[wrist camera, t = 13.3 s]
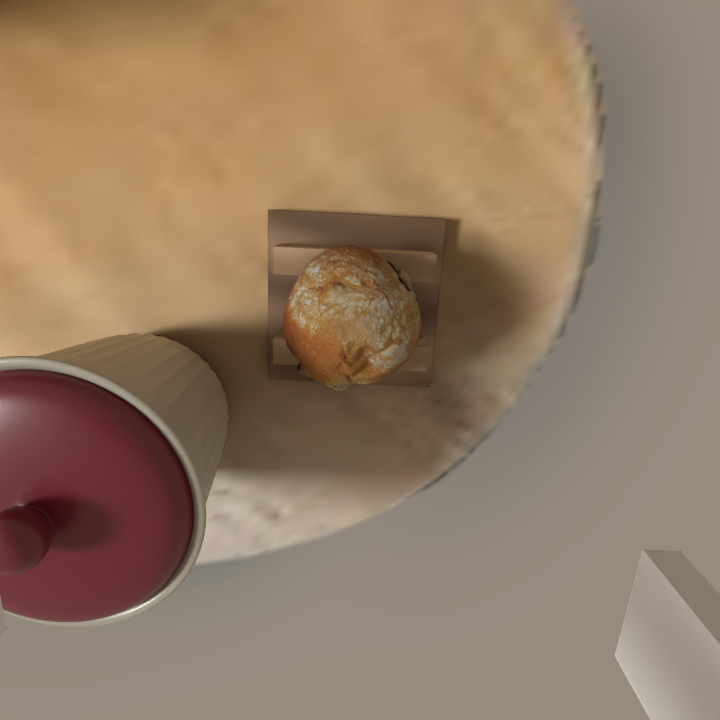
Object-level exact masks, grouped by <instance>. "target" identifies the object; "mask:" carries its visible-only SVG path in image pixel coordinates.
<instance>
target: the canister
mask: <svg viewBox="0 0 720 720" xmlns="http://www.w3.org/2000/svg"><path fill="white" fill-rule="evenodd" d="M228 423H229V417H228V404H227V402H226V394H225V392H224V391H223V389H222V383H221V382H220V381H219V380H218V378H217V376H216V373H215V372H214V371H213V370H212V369H211V368H210V367H209V364H208V363H207V362H205V361H204V360H203V359H202V358H201V357H200V356H199V354H196V353H194V352H193V351H192V350H190V348H189V347H186V346H183V345H181V344H180V343H179V342H177V341H173V340H169V339H167V338H166V337H163V336H160V337H159V336H154V335H152V334H144V335H142V334H138V333H133V334H128V335H117V336H112V337H108V338H103V339H99V340H95V341H91V342H87V343H84V344H80V345H76V346H73V347H69V348H66V349H62V350H58V351H55V352H51V353H48V354H44V355H41V356H37V357H34V356H11V357H1V358H0V597H1V602H2V607H3V612H5V613H8V614H10V615H13V616H16V617H19V618H22V619H25V620H29V621H33V622H37V623H42V624H48V625H54V626H65V627H89V626H99V625H106V624H110V623H115V622H119V621H123V620H126V619H129V618H132V617H134V616H137V615H139V614H141V613H143V612H145V611H147V610H149V609H151V608H153V607H154V606H156V605H158V604H159V603H161V602H162V601H163V600H164V599H166V598H167V597H168V596H169V595H170V594H172V593H173V592H174V591H175V590H176V589H177V588H178V587H179V585H180V584H181V583H182V582H183V581H184V580H185V578H186V577H187V575H188V574H189V572H190V571H191V569H192V567H193V565H194V563H195V562H196V559H197V557H198V555H199V552H200V550H201V546H202V543H203V539H204V534H205V527H206V501H207V498H208V495H209V492H210V490H211V487H212V484H213V480H214V477H215V474H216V471H217V468H218V465H219V462H220V459H221V455H222V452H223V448H224V444H225V441H226V437H227V427H228Z"/></svg>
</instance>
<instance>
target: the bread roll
mask: <svg viewBox="0 0 720 720" xmlns="http://www.w3.org/2000/svg"><path fill="white" fill-rule="evenodd" d="M411 289H412V285H411V283H410V279H409V277H408V275H407V273H405V272H404V271H403V270H402V269H400V270H398V271H397V270H396V268H395V267H394V266H393V265H392V264H391V263H390V262H388V261H386V260H385V258H384V256H382V255H381V254H379V253H377V252H376V251H373V250H372V249H369V248H367V247H364V246H361V245H339V246H335V247H332V248H329V249H327V250H324V251H323V252H321V253H320V254H318V255H317V256H315V257H314V258H313V259H312V260H311V261H310V262H309V263H308V264H307V265H306V267H305V268H304V269H303V271H302V273H301V275H300V276H299V277H298V279H297V281H296V283H295V285H294V286H293V288H292V290H291V293H290V295H289V297H288V300H287V303H286V305H285V310H284V315H283V330H284V334H285V340H286V343H287V347H288V348H289V349H290V352H291V353H292V354H293V355H294V356H295V357H296V358H297V359H298V360H299V361H300V362H299V364H298V367H297V370H298V371H299V372H301V373H303V374H305V375H307V376H309V377H311V378H313V379H314V380H315V381H316V382H318V383H320V382H321V383H323V384H324V385H325V386H326V387H329V388H331V389H333V390H339V391H342V390H344V389H348V388H349V385H351V384H373V383H375V382H376V381H380V380H381V379H382V378H383V377H385V376H387V375H389V374H391V373H392V372H394V371H396V370H397V369H398V368H399V367H400V366H401V365H402V364H404V363H405V362H406V361H407V360H408V359H409V357H410V356H411V354H412V353H413V351H414V349H415V347H416V345H417V342H418V339H419V336H420V332H421V326H422V324H421V318H420V309H419V306H418V303H417V302H416V298H415V296H416V295H415V293H414V292H413V291H412V290H411Z"/></svg>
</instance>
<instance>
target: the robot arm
mask: <svg viewBox="0 0 720 720" xmlns="http://www.w3.org/2000/svg"><path fill="white" fill-rule="evenodd" d="M6 630H7V627H6V622H5V617H4V612H3V607H2V602H1V597H0V637H1V636H2V635H3V634H4V632H5V631H6ZM615 657H616V659H617V661H618V662H619V664H620V666H621V668H622V669H623V671H624V673H625V675H626V677H627V679H628V680H629V682H630V684H631V686H632V688H633V689H634V691H635V693H636V695H637V697H638V698H639V700H640V701H641V703H642V705H643V707H644V709H645V711H646V712H647V714H648V716H649V718H650V720H720V594H719V593H718V592H717V591H716V589H715V588H714V587H713V586H712V585H711V584H710V583H709V582H708V581H707V580H706V578H705V577H704V576H703V575H702V574H701V573H700V572H699V571H698V570H697V569H696V568H695V566H694V565H693V564H692V563H691V562H690V561H689V560H688V559H687V558H686V557H685V556H684V554H682V552H681V551H669V550H647V549H643V550H642V553H641V557H640V561H639V565H638V569H637V573H636V576H635V580H634V584H633V588H632V592H631V596H630V599H629V603H628V607H627V611H626V615H625V619H624V622H623V626H622V630H621V634H620V638H619V642H618V645H617V649H616V653H615Z"/></svg>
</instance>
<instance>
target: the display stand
mask: <svg viewBox="0 0 720 720" xmlns="http://www.w3.org/2000/svg"><path fill="white" fill-rule="evenodd" d="M445 228H446V219H434V218H416V217H397V216H378V215H359V214H340V213H321V212H302V211H283V210H268V368H269V379H286V380H306V381H315V380H314V379H313V378H311V377H309V376H307V375H305V374H303V373H301V372H299V371H298V370H297V367H298V364H299V362H300V361H299V360H298V359H297V358H296V357H295V356H294V355H293V354H292V353H291V352H290V349H289V348H288V347H287V343H286V340H285V334H284V330H283V315H284V310H285V305H286V303H287V300H288V297H289V295H290V293H291V290H292V288H293V286H294V285H295V283H296V281H297V279H298V277H299V276H300V275H301V273H302V271H303V269H304V268H305V267H306V265H307V264H308V263H309V262H310V261H311V260H312V259H313V258H314V257H315V256H317V255H318V254H320V253H321V252H323V251H324V250H327V249H329V248H332V247H335V246H339V245H361V246H364V247H367V248H369V249H372V250H373V251H376V252H377V253H379V254H381V255H382V256H384V258H385V260H386V261H388V262H390V263H391V264H392V265H393V266H394V267H395V268H396V270H397V271H398V270H400V269H402V270H403V271H404V272H405V273H407V275H408V277H409V279H410V283H411V285H412V289H411V290H412V291H413V292H414V293H415V295H416V296H415V298H416V302H417V303H418V306H419V309H420V318H421V324H422V326H421V332H420V336H419V339H418V342H417V345H416V347H415V349H414V351H413V353H412V354H411V356H410V357H409V359H408V360H407V361H406V362H405V363H404V364H402V365H401V366H400V367H399V368H398V369H397V370H396V371H394V372H392V373H391V374H389V375H387V376H385V377H383V378H382V379H381V380H380V381H376V382H375V383H373V384H386V385H406V386H426V387H430V381H431V371H432V360H433V350H434V340H435V330H436V320H437V309H438V299H439V289H440V279H441V269H442V258H443V248H444V238H445Z"/></svg>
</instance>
